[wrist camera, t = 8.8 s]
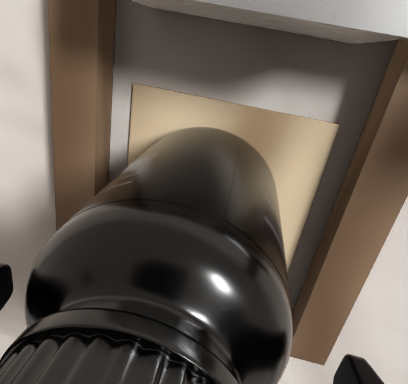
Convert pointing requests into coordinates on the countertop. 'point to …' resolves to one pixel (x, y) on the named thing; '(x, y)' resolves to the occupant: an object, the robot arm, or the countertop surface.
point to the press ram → (306, 16)
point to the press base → (258, 138)
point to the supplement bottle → (164, 276)
